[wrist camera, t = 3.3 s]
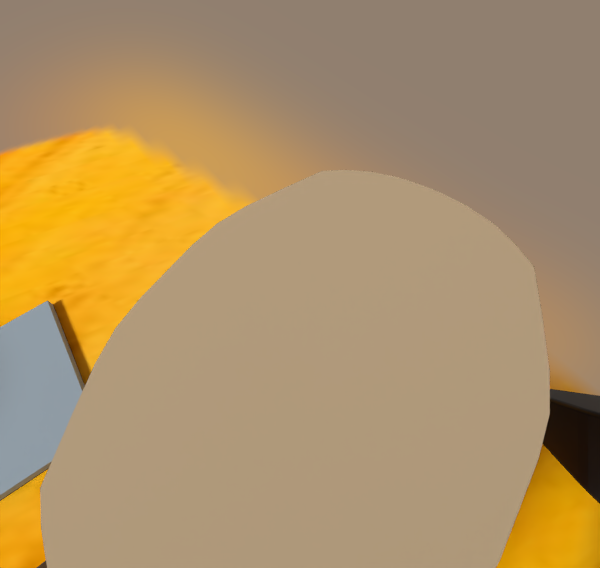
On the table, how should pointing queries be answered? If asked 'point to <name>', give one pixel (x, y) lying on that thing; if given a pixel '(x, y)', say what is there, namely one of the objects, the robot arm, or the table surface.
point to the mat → (34, 394)
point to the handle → (313, 394)
